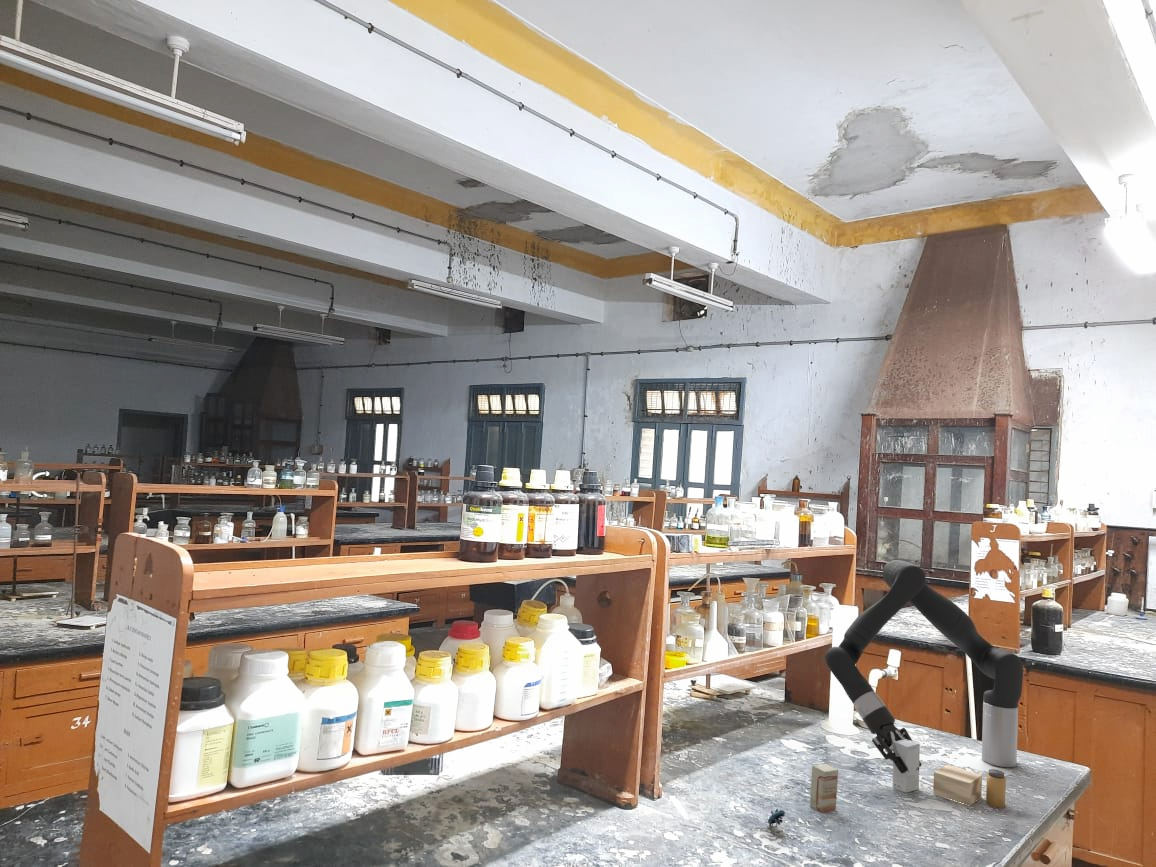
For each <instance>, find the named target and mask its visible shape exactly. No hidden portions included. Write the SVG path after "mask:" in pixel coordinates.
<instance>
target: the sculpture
mask: <svg viewBox="0 0 1156 867" xmlns="http://www.w3.org/2000/svg"><path fill="white" fill-rule="evenodd" d="M770 813H771V815H770V816H769V817H768V819H767V822H768V825H766V828H765V829H766V830H767V832H768V833H771V834H772V833H773V834H774V835H775V836H777V837H780V838H782V837H784V836H785V832H784V829H783V828H782V827H780V826H779V825H781V823H783V819H784V816H785V813H786V811H785V810H784V809H783V808H781V809H778V808H776V809H775V811H773V810H771V811H770ZM774 824H775V825H774ZM783 835H784V836H783Z"/></svg>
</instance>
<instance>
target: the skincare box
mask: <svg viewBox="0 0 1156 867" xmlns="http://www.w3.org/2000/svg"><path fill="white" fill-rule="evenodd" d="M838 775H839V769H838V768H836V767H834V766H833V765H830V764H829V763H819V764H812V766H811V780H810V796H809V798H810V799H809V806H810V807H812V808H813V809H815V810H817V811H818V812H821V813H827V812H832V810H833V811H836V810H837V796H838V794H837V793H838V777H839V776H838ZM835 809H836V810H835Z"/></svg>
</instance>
